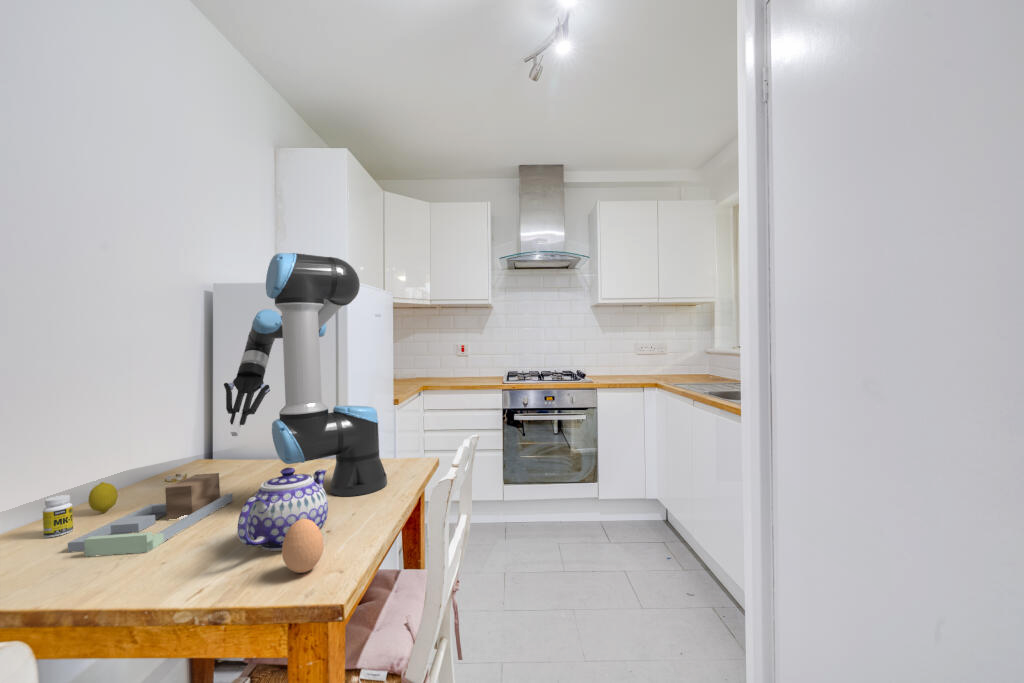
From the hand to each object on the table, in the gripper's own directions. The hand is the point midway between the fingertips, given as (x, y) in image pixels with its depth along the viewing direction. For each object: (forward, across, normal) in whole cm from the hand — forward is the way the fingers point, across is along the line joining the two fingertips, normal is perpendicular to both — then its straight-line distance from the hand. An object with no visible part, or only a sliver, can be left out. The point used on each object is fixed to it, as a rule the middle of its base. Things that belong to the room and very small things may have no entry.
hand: (234, 434), depth 129 cm
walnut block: (+23, +3, +4) cm, 24 cm away
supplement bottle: (+28, +28, +4) cm, 40 cm away
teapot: (+38, -24, +30) cm, 54 cm away
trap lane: (+28, +8, +10) cm, 31 cm away
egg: (+47, -28, +43) cm, 70 cm away
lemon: (+20, +26, -6) cm, 34 cm away
